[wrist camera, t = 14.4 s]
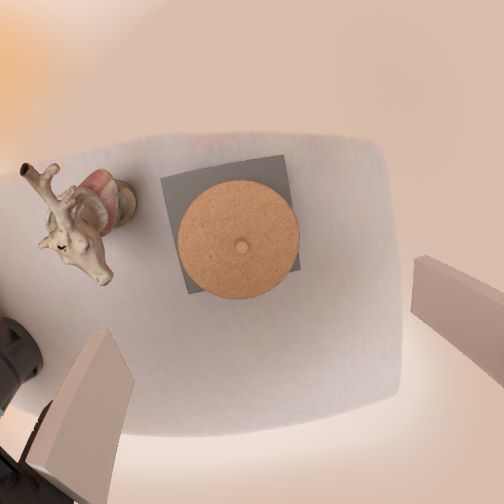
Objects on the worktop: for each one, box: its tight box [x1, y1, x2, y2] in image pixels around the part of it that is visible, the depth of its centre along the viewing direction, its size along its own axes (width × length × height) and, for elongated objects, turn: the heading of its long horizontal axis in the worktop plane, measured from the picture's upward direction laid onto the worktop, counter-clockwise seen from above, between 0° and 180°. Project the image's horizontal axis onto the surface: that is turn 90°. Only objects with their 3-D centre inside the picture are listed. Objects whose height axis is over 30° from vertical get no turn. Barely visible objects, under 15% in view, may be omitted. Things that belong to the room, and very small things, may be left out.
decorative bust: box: [20, 163, 136, 286], centre depth 26 cm, size 11×13×25 cm
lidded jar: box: [178, 180, 300, 299], centre depth 26 cm, size 11×11×9 cm
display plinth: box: [161, 155, 300, 294], centre depth 35 cm, size 14×14×10 cm
